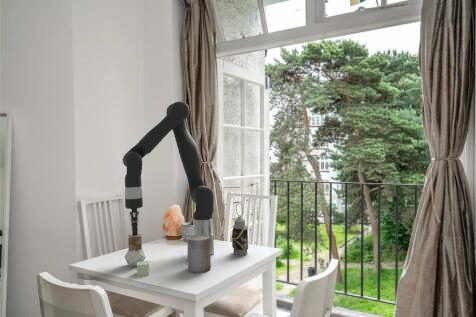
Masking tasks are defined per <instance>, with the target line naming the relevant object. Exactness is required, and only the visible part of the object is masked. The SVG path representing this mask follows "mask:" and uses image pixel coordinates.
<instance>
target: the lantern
mask: <svg viewBox="0 0 476 317" xmlns="http://www.w3.org/2000/svg"><path fill="white" fill-rule="evenodd" d="M238 204H240V206H241V209H242V213H241V215H239V214H238V211H237V208H238V207H237V206H238ZM235 212H236V214H237V216H238V217H237V218H236V219H234V220H233V221H234V224H233V226H232V231H231V242H232V244H231V246H232V249H233V251H232V252H233V255H235V256H246V255H247V254H248V250H249V236H248V235H249V234H248V233H249V232H248V231H249V227H248V225H247V224H246V220H245V219H244V218H243V217H242V216H243V213H244V207H243V205H242V203H241V202H237V203H236V206H235Z"/></svg>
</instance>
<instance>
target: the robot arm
mask: <svg viewBox="0 0 476 317" xmlns="http://www.w3.org/2000/svg"><path fill="white" fill-rule="evenodd" d="M190 110H191V109H190V106H189V105H188V104H187V103H186V102H184V101H175V102H173V103H171V104H170V105H168V106H167V108H166V110H165V111H166V115H165V117H164V118H162V120H161V121H159V123H157V124H156V125H155V126H153V128H151V129H150V130H149V131H148V132H146V134H145V135H144V136H143V137H142V138H141V139H140V140H139V141H138V142H137V143H136V144H135V145H134V146H133V147H131V148H130V149H129V150H128V151H127V152H126V153H125V154H124V155H123V157H122V164H123V165H124V166H125V167H126V174H125V177H124V207H125V209H127V210H131V211H129V217H130V221H129V222H130V225H131V235H133V236H137V235H138V234H139V233H138V232H139V230H138V228H139V224H138V223H139V222H140V221H139V218H140V217H139V216H140V211H139V210H138V209H140V208H143V207H144V205H143V204H144V203H143V199H144V198H143V188H142V171H143V158H145V156H147V155H149V154H151V152H153V150H154V149H155V148H156V147H157V146H158V145H159V144H160V143H161V142H162V140H164V139H165V137H166V136H168V134H169V133H170V132H173V135H174V138H175V142H176V143H175V144H176V147H177V149H178V150H177V151H178V153H179V157H180V160H181V163H182V167H183V170H184V172H185V173H184V174H185V176H186V179H187V183H188V188H189V193H190V198H191V200H192V202H194V203H195V210H194V212H193V215H192V218H193V219H192V220H193V221H192V222H193V235H208V236H210V253H211V255H214V254H215V244H214V243H215V242H214V234H213V214H214V208H215V207H214V204H215V202H214V200H215V199H214V198H215V197H214V193H213V190H212V189H211V188H210V187H209V186H206V185H205V183H204V180H203V178H202V171H201V170H202V169H201V165H202V164H201V163H202V162H201V160H202V159H201V154H200V152H199V149H198V145H197V143H196V141H195V139H194V138H193V136H192V135H191V133H190V131H189V130H188V127H187V124H186V123H187V122H186V119H187V118H189V115H190Z"/></svg>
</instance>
